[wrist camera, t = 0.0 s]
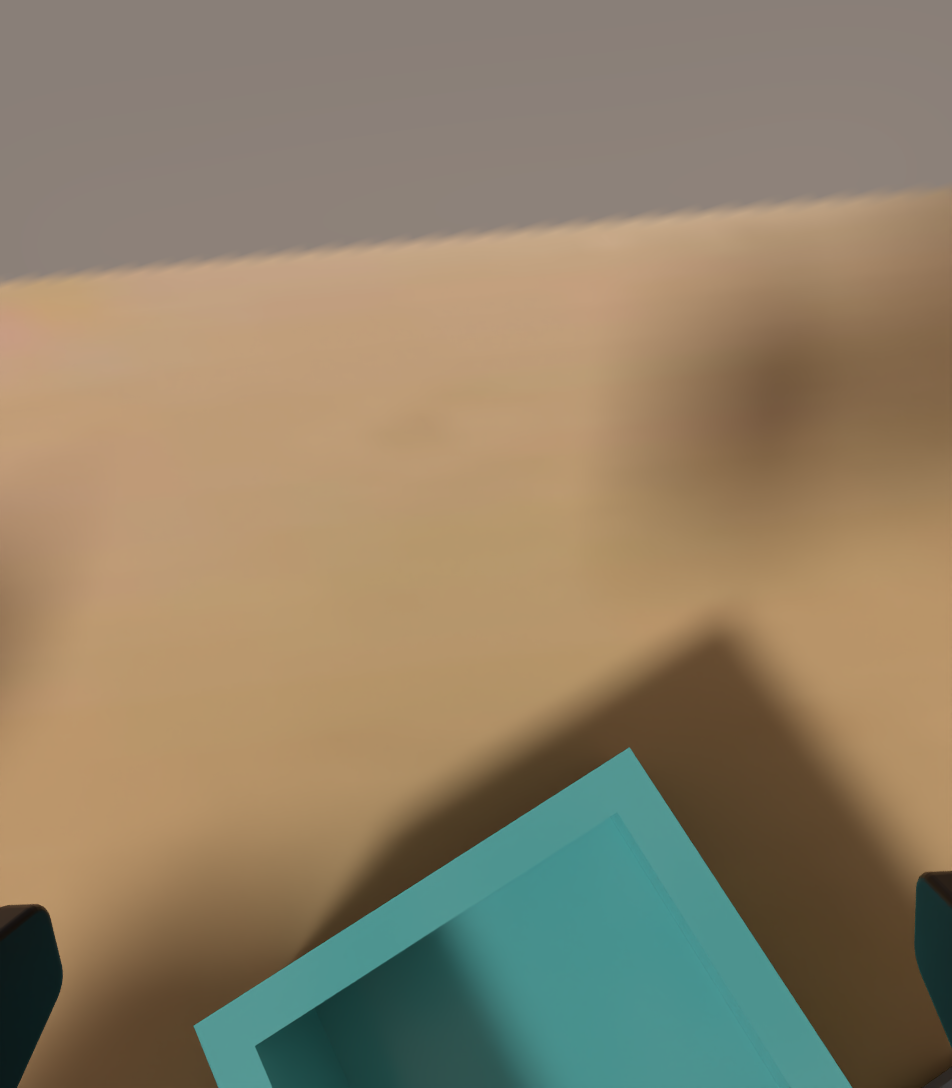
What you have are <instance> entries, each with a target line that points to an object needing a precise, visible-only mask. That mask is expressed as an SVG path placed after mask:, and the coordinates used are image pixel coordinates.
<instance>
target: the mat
mask: <svg viewBox="0 0 952 1088" xmlns="http://www.w3.org/2000/svg"><path fill="white" fill-rule="evenodd" d="M922 1088H952V1067H951V1068H949V1069H948V1070H947V1071H945V1072H944V1073H942V1074H941V1075H939V1076H938V1077H937V1078H935V1079H934V1080H932V1081H931V1082H929V1083H928V1084H927V1085H925V1086H924V1087H922Z"/></svg>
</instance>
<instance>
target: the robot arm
mask: <svg viewBox="0 0 952 1088" xmlns="http://www.w3.org/2000/svg"><path fill="white" fill-rule="evenodd" d="M914 944H915V955H916V960H917V964H918V967H919V970H920V973H921V975H922V978H923V980H924V983H925V985H926V987H927V990H928V992H929V995H930V997H931V999H932V1002H933V1004H934V1006H935V1009H936V1011H937V1014H938V1016H939V1018H940V1021H941V1023H942V1025H943V1028H944V1030H945V1033H946V1035H947V1037H948V1040H949V1042H950V1045H951V1047H952V871H940V872H925V873H923V874H922V875H921V876H920V877H919V879H918V882H917V886H916V910H915V941H914ZM62 979H63V970H62V964H61V960H60V956H59V952H58V947H57V943H56V939H55V935H54V931H53V927H52V923H51V918H50V915H49V913H48V911H47V910H46V909H45V908H44V907H43V906H41V905H39V904H27V905H7V906H3V907H0V1088H17V1086H18V1084H19V1082H20V1080H21V1078H22V1075H23V1073H24V1071H25V1069H26V1067H27V1064H28V1062H29V1060H30V1058H31V1055H32V1053H33V1051H34V1049H35V1047H36V1044H37V1042H38V1040H39V1038H40V1036H41V1033H42V1031H43V1029H44V1027H45V1025H46V1022H47V1020H48V1018H49V1016H50V1014H51V1011H52V1009H53V1007H54V1005H55V1002H56V1000H57V998H58V995H59V993H60V989H61V985H62Z"/></svg>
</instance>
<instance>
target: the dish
mask: <svg viewBox="0 0 952 1088" xmlns="http://www.w3.org/2000/svg"><path fill="white" fill-rule="evenodd" d="M194 1028H195V1031H196V1033H197V1036H198V1038H199V1041H200V1043H201V1046H202V1048H203V1051H204V1053H205V1056H206V1058H207V1061H208V1063H209V1066H210V1068H211V1070H212V1073H213V1075H214V1078H215V1080H216V1083H217V1085H218V1088H852V1086H851V1085H850V1083H849V1082H848V1080H847V1079H846V1077H845V1076H844V1074H843V1073H842V1071H841V1070H840V1068H839V1066H838V1065H837V1063H836V1062H835V1060H834V1059H833V1057H832V1056H831V1054H830V1053H829V1051H828V1050H827V1048H826V1047H825V1045H824V1044H823V1042H822V1041H821V1039H820V1037H819V1036H818V1034H817V1033H816V1031H815V1030H814V1028H813V1027H812V1025H811V1024H810V1022H809V1021H808V1019H807V1018H806V1016H805V1015H804V1013H803V1011H802V1010H801V1008H800V1007H799V1005H798V1004H797V1002H796V1001H795V999H794V998H793V996H792V995H791V993H790V992H789V990H788V989H787V987H786V986H785V984H784V982H783V981H782V979H781V978H780V976H779V975H778V973H777V972H776V970H775V969H774V967H773V966H772V964H771V963H770V961H769V960H768V958H767V957H766V955H765V953H764V952H763V950H762V949H761V947H760V946H759V944H758V943H757V941H756V940H755V938H754V937H753V935H752V934H751V932H750V931H749V929H748V927H747V926H746V924H745V923H744V921H743V920H742V918H741V917H740V915H739V914H738V912H737V911H736V909H735V908H734V906H733V905H732V903H731V902H730V900H729V898H728V897H727V895H726V894H725V892H724V891H723V889H722V888H721V886H720V885H719V883H718V882H717V880H716V879H715V877H714V876H713V874H712V873H711V871H710V869H709V868H708V866H707V865H706V863H705V862H704V860H703V859H702V857H701V856H700V854H699V853H698V851H697V850H696V848H695V847H694V845H693V843H692V842H691V840H690V839H689V837H688V836H687V834H686V833H685V831H684V830H683V828H682V827H681V825H680V824H679V822H678V821H677V819H676V818H675V816H674V814H673V813H672V811H671V810H670V808H669V807H668V805H667V804H666V802H665V801H664V799H663V798H662V796H661V795H660V793H659V792H658V790H657V789H656V787H655V785H654V784H653V782H652V781H651V779H650V778H649V776H648V775H647V773H646V772H645V770H644V769H643V767H642V766H641V764H640V763H639V761H638V759H637V758H636V756H635V755H634V753H633V752H632V750H631V749H630V747H629V748H628V749H626V750H624V751H623V752H621V753H620V754H618V755H617V756H615V757H613V758H612V759H610V760H609V761H607V762H606V763H604V764H602V765H601V766H599V767H598V768H596V769H595V770H593V771H592V772H590V773H588V774H587V775H585V776H584V777H582V778H581V779H579V780H577V781H576V782H574V783H573V784H571V785H570V786H568V787H566V788H565V789H563V790H562V791H560V792H559V793H557V794H556V795H554V796H552V797H551V798H549V799H548V800H546V801H545V802H543V803H541V804H540V805H538V806H537V807H535V808H534V809H532V810H530V811H529V812H527V813H526V814H524V815H523V816H521V817H520V818H518V819H516V820H515V821H513V822H512V823H510V824H509V825H507V826H505V827H504V828H502V829H501V830H499V831H498V832H496V833H494V834H493V835H491V836H490V837H488V838H487V839H485V840H484V841H482V842H480V843H479V844H477V845H476V846H474V847H473V848H471V849H469V850H468V851H466V852H465V853H463V854H462V855H460V856H458V857H457V858H455V859H454V860H452V861H451V862H449V863H448V864H446V865H444V866H443V867H441V868H440V869H438V870H437V871H435V872H433V873H432V874H430V875H429V876H427V877H426V878H424V879H422V880H421V881H419V882H418V883H416V884H415V885H413V886H412V887H410V888H408V889H407V890H405V891H404V892H402V893H401V894H399V895H397V896H396V897H394V898H393V899H391V900H390V901H388V902H386V903H385V904H383V905H382V906H380V907H379V908H377V909H376V910H374V911H372V912H371V913H369V914H368V915H366V916H365V917H363V918H361V919H360V920H358V921H357V922H355V923H354V924H352V925H350V926H349V927H347V928H346V929H344V930H343V931H341V932H340V933H338V934H336V935H335V936H333V937H332V938H330V939H329V940H327V941H325V942H324V943H322V944H321V945H319V946H318V947H316V948H314V949H313V950H311V951H310V952H308V953H307V954H305V955H304V956H302V957H300V958H299V959H297V960H296V961H294V962H293V963H291V964H289V965H288V966H286V967H285V968H283V969H282V970H280V971H278V972H277V973H275V974H274V975H272V976H271V977H269V978H268V979H266V980H264V981H263V982H261V983H260V984H258V985H257V986H255V987H253V988H252V989H250V990H249V991H247V992H246V993H244V994H242V995H241V996H239V997H238V998H236V999H235V1000H233V1001H232V1002H230V1003H228V1004H227V1005H225V1006H224V1007H222V1008H221V1009H219V1010H217V1011H216V1012H214V1013H213V1014H211V1015H210V1016H208V1017H206V1018H205V1019H203V1020H202V1021H200V1022H199V1023H197V1024H196V1025H194Z"/></svg>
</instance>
